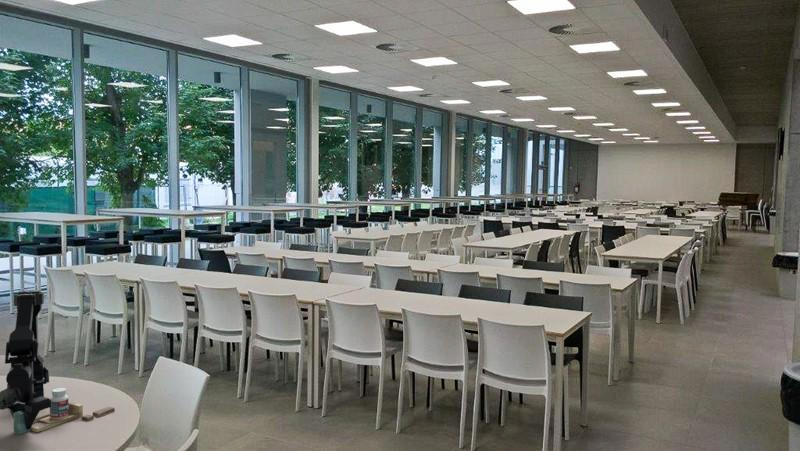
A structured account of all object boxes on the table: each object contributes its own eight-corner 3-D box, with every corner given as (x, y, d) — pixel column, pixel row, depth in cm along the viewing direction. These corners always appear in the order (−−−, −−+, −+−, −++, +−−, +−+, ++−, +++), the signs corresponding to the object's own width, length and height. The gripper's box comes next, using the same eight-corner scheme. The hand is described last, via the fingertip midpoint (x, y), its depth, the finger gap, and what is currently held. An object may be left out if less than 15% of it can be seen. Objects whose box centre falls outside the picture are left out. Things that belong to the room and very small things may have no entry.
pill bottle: (60, 420, 199) (59, 393, 199) (46, 419, 201) (45, 391, 200) (72, 414, 205) (71, 388, 204) (58, 413, 206) (58, 386, 205)
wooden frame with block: (7, 430, 192) (7, 411, 192) (64, 410, 209) (64, 392, 209) (26, 436, 188) (26, 416, 188) (82, 415, 205) (82, 397, 205)
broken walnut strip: (81, 419, 202) (81, 416, 202) (108, 409, 211) (108, 406, 211) (88, 420, 201) (88, 417, 201) (114, 410, 210) (114, 408, 210)
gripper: (-25, 380, 187) (-23, 431, 189) (15, 390, 179) (16, 443, 180) (12, 370, 197) (14, 418, 199) (52, 379, 189) (53, 430, 190)
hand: (23, 427), depth 192 cm, fingers open, 4 cm apart
